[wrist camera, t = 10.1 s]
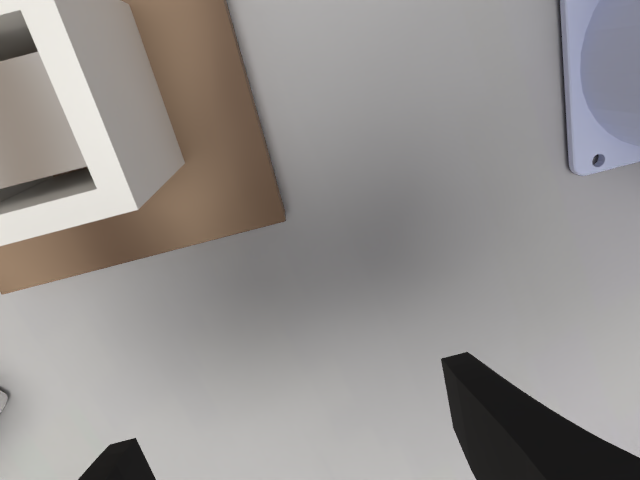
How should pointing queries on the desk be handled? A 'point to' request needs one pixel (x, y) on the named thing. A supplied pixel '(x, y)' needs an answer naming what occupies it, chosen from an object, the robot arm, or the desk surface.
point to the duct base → (191, 133)
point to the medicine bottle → (2, 400)
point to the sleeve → (90, 114)
